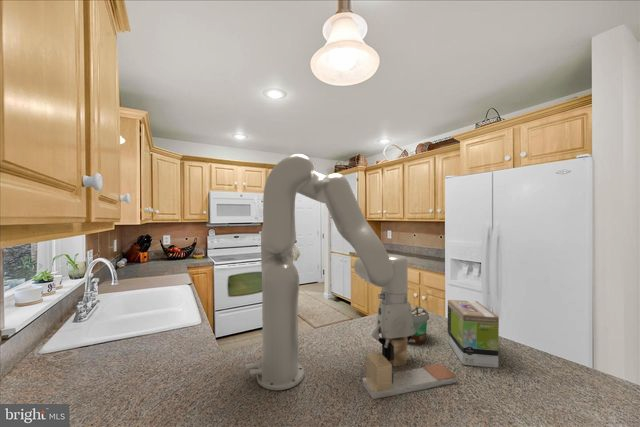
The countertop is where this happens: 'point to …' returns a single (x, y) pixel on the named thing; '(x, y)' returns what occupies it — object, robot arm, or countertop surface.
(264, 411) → the countertop surface
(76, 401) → the countertop surface
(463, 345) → the tea box
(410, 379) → the rail
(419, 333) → the food container
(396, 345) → the block
